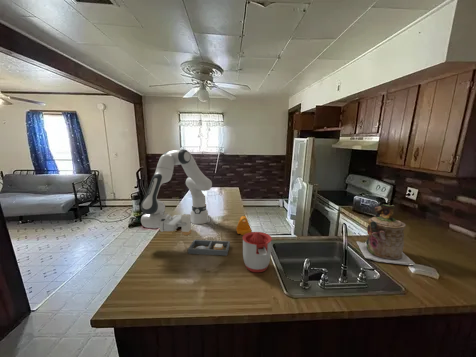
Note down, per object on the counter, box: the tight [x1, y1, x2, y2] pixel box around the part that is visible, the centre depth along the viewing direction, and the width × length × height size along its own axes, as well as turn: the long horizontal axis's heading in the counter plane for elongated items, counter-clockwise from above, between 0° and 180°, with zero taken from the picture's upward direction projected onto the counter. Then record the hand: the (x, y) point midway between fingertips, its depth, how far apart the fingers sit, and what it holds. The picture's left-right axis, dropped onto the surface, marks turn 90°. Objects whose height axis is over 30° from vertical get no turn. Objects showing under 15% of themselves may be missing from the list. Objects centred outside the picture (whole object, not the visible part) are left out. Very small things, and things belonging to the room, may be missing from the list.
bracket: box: [235, 215, 253, 236], centre depth 161 cm, size 11×7×12 cm, turn 98°
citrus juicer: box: [242, 231, 273, 273], centre depth 114 cm, size 16×17×20 cm
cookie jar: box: [356, 203, 416, 266], centre depth 129 cm, size 25×25×32 cm
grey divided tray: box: [187, 239, 231, 257], centre depth 135 cm, size 13×24×3 cm, turn 85°
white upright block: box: [181, 213, 192, 236], centre depth 135 cm, size 6×6×12 cm
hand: (187, 222), depth 135 cm, fingers closed on white upright block, 4 cm apart
